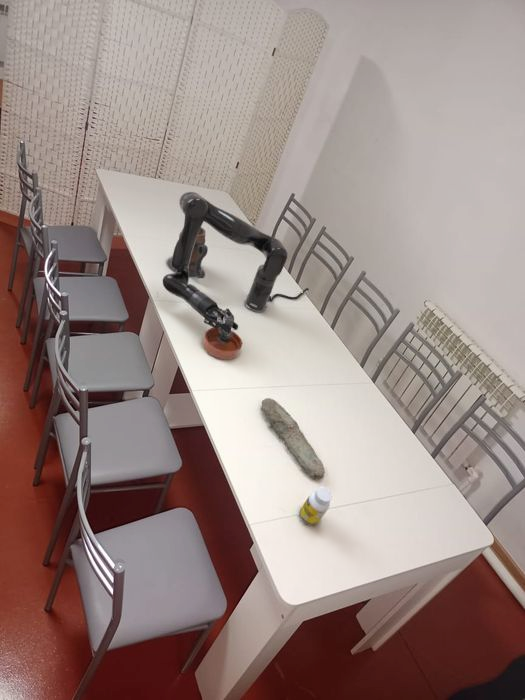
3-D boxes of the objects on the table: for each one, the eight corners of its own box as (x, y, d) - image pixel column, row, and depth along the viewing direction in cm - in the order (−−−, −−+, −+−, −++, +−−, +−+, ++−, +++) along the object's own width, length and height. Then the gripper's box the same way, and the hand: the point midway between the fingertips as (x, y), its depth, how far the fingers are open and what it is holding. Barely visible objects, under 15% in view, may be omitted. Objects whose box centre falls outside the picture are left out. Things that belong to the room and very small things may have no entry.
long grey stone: (305, 487, 155) (327, 479, 161) (313, 478, 152) (334, 470, 158) (252, 404, 173) (273, 400, 179) (258, 394, 170) (279, 391, 176)
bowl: (220, 331, 202) (223, 323, 199) (246, 352, 197) (249, 344, 194) (194, 342, 191) (197, 333, 188) (221, 365, 185) (224, 357, 183)
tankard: (161, 257, 231) (169, 219, 220) (191, 256, 242) (201, 220, 230) (184, 286, 219) (194, 247, 207) (215, 283, 229) (226, 246, 218)
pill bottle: (297, 505, 147) (312, 482, 140) (317, 508, 149) (332, 486, 142) (300, 524, 142) (315, 502, 135) (320, 527, 144) (336, 505, 137)
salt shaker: (228, 346, 189) (237, 322, 182) (214, 340, 189) (222, 315, 182) (232, 338, 194) (241, 314, 187) (218, 332, 193) (227, 308, 186)
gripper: (192, 301, 185) (224, 327, 179) (217, 292, 195) (248, 317, 189) (187, 316, 189) (218, 342, 183) (212, 307, 199) (242, 332, 193)
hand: (233, 329), depth 186 cm, fingers closed on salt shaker, 3 cm apart
